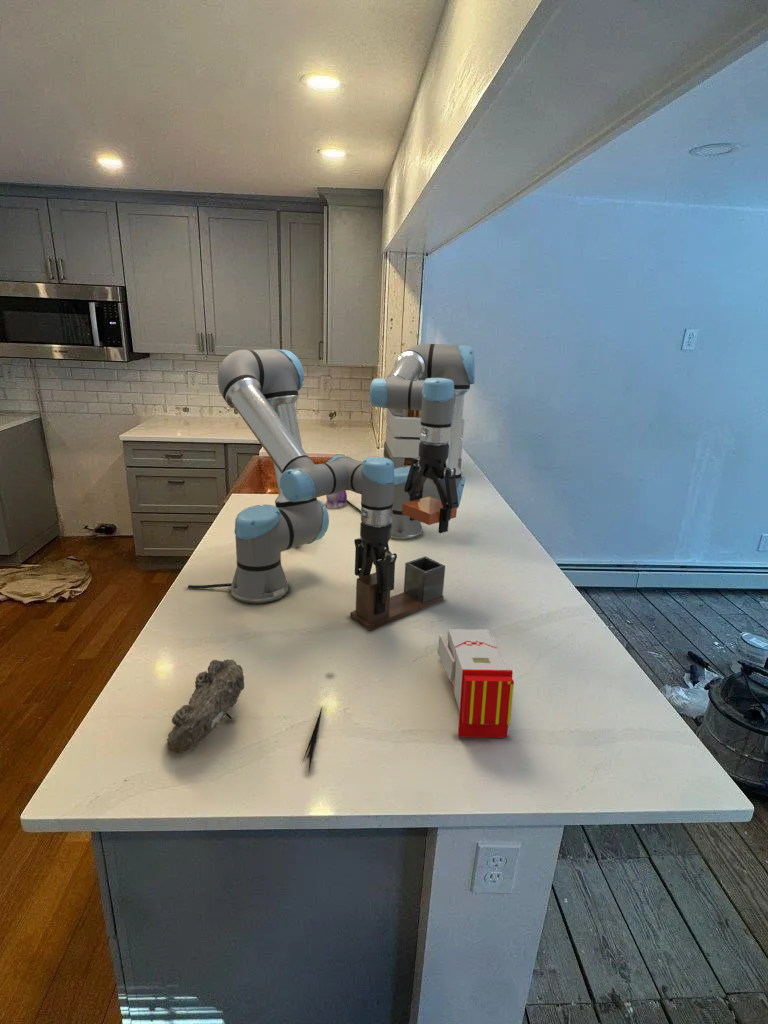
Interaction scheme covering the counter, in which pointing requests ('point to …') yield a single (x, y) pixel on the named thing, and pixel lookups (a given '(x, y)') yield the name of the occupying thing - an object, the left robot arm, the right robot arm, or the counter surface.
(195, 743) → the fossil
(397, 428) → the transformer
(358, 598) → the brown wooden desk organizer
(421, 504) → the glossy orange tile
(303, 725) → the counter surface
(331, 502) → the figurine
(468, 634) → the toy
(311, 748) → the feather
